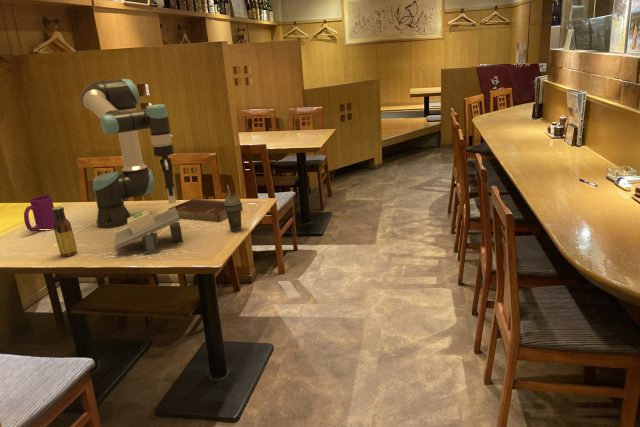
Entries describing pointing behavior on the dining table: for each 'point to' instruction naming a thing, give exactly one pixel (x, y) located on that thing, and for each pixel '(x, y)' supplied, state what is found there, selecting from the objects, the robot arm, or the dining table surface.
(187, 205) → the hardback book
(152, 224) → the instrument plate
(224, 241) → the dining table surface
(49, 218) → the mug
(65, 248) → the sauce bottle
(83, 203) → the dining table surface
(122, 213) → the robot arm
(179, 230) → the pivot stand
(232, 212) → the beverage cup
